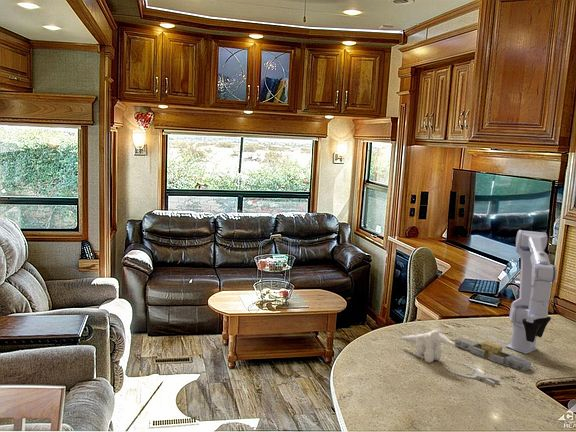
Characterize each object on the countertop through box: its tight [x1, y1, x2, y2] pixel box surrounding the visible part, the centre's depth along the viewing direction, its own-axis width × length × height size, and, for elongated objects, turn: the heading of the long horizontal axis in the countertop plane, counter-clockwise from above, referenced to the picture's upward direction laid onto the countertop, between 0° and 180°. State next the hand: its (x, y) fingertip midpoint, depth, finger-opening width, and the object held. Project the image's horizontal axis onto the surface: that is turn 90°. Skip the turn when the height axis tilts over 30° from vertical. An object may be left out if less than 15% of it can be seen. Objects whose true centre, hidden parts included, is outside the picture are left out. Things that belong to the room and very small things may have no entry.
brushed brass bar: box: [481, 340, 503, 359], centre depth 182 cm, size 3×6×4 cm, turn 40°
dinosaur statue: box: [397, 328, 455, 363], centre depth 177 cm, size 7×24×11 cm, turn 36°
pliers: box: [445, 362, 500, 387], centre depth 165 cm, size 10×2×15 cm
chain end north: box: [488, 350, 533, 373], centre depth 177 cm, size 6×12×2 cm, turn 40°
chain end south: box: [454, 336, 486, 358], centre depth 188 cm, size 6×12×2 cm, turn 40°
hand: (534, 338), depth 175 cm, fingers open, 7 cm apart
